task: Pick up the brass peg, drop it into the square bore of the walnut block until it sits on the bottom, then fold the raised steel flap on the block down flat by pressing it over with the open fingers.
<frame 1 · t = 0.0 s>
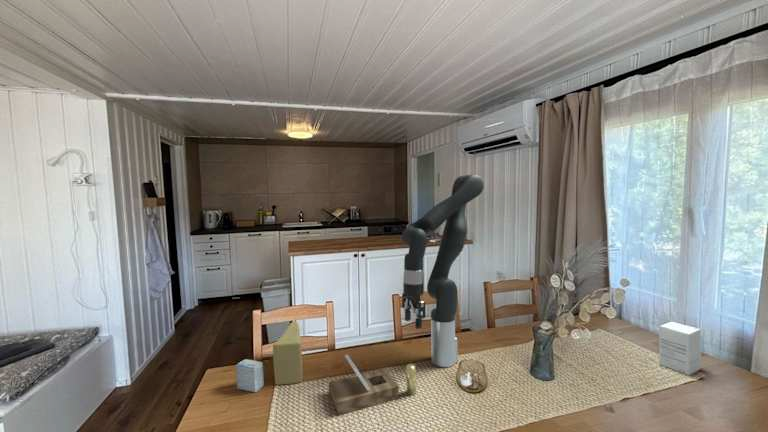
hand: (412, 324, 119), 17 cm above the table, fingers open, 8 cm apart
supplement box: (679, 367, 117), on the table
walnut block: (363, 396, 104), on the table
cheese: (292, 369, 122), on the table
steel flap: (357, 371, 103), point 8 cm above the table, hinge at 60.0°
medicine box: (250, 388, 110), on the table
brass peg: (411, 392, 105), on the table
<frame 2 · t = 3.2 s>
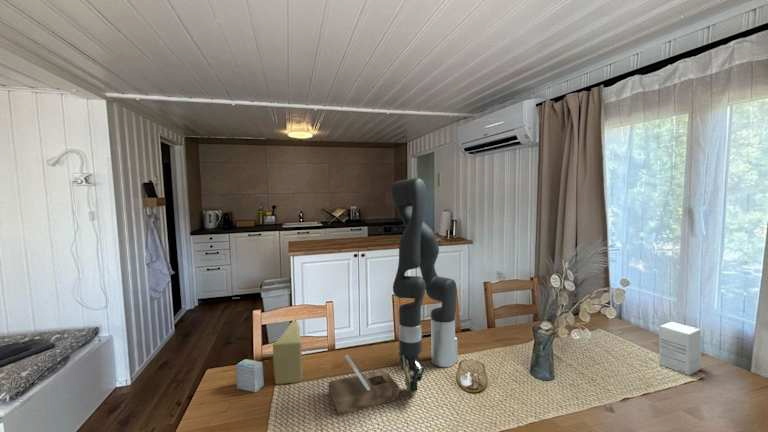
hand: (411, 388, 105), 2 cm above the table, fingers closed on brass peg, 3 cm apart
brass peg: (411, 392, 105), on the table, touching gripper
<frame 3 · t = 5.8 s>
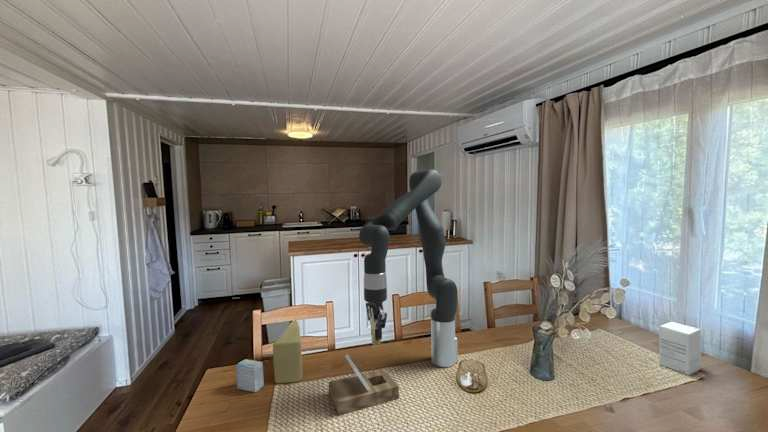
hand: (376, 337, 105), 19 cm above the table, fingers closed on brass peg, 3 cm apart
brass peg: (376, 343, 105), point 17 cm above the table, touching gripper
when the fingers open (5 cm above the table, at t = 8.5 s): brass peg drops 3 cm, resting in walnut block.
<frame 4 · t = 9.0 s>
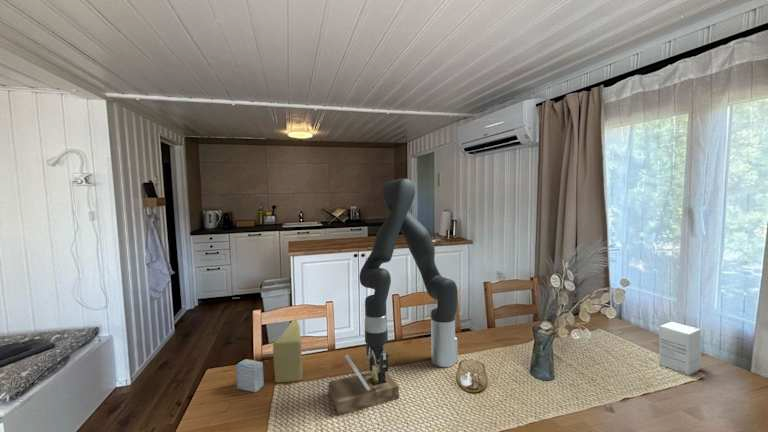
hand: (377, 376, 105), 5 cm above the table, fingers open, 7 cm apart
brass peg: (377, 392, 106), resting in walnut block
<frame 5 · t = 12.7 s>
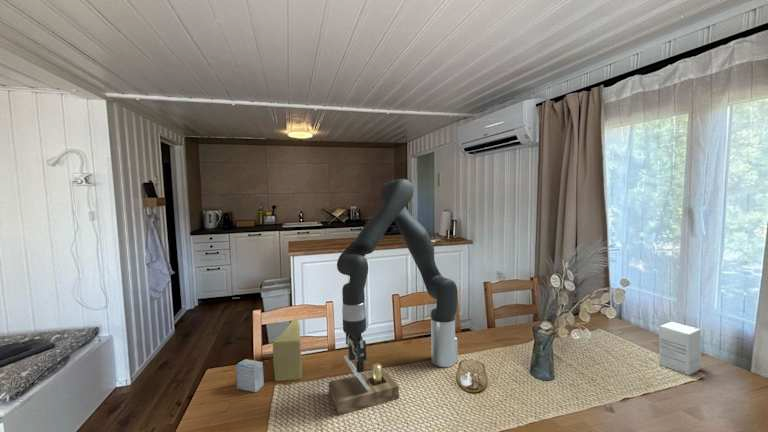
hand: (356, 365, 102), 11 cm above the table
steel flap: (356, 372, 102), point 8 cm above the table, hinge at 56.9°, touching gripper
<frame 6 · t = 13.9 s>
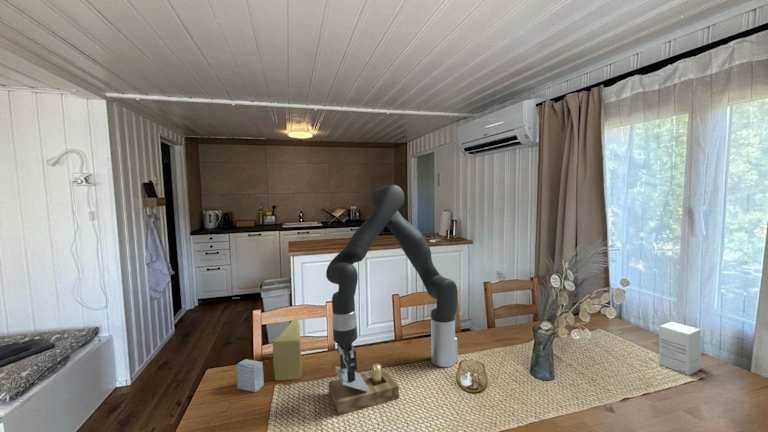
hand: (347, 374, 101), 8 cm above the table
steel flap: (351, 378, 102), point 7 cm above the table, hinge at 27.9°, touching gripper
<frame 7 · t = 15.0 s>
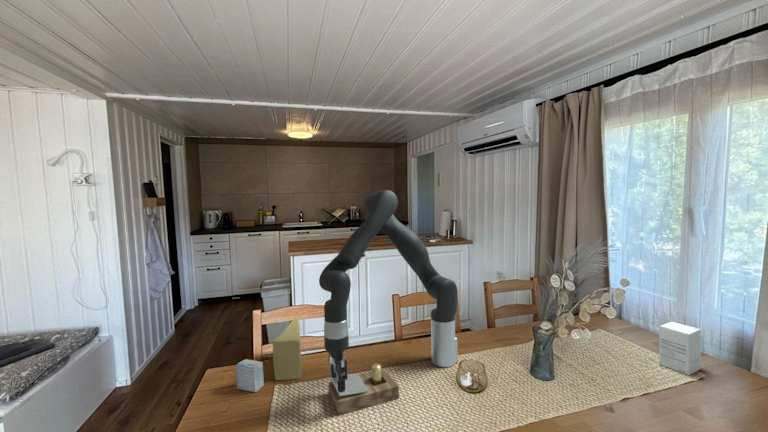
hand: (338, 383, 100), 6 cm above the table
steel flap: (349, 383, 102), point 5 cm above the table, hinge at 6.7°, touching gripper
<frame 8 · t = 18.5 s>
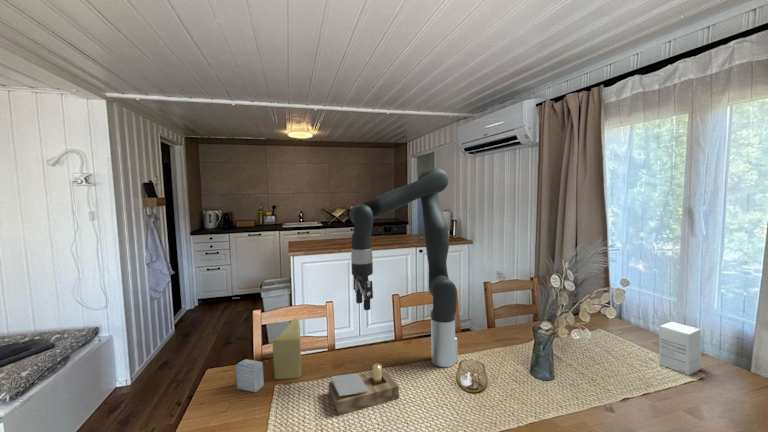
hand: (363, 306, 113), 26 cm above the table, fingers open, 8 cm apart
steel flap: (349, 384, 102), point 5 cm above the table, hinge at 6.6°
at the end: brass peg 0.1 cm from the target spot on the walnut block, point 0.0 cm above the walnut block's base; brass peg tilted 1°; steel flap at +7° (first picture: +60°) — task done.
